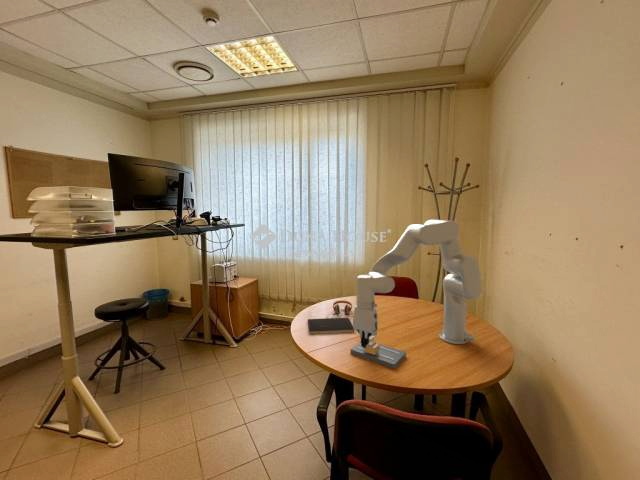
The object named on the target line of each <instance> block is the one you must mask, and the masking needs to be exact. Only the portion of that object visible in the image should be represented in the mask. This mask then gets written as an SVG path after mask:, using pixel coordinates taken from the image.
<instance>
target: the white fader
mask: <svg viewBox="0 0 640 480" xmlns="http://www.w3.org/2000/svg"><path fill="white" fill-rule="evenodd" d="M375 337H376V336H370V337H369V343H370V342H375V339H376V338H375Z"/></svg>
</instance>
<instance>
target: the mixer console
mask: <svg viewBox="0 0 640 480" xmlns="http://www.w3.org/2000/svg"><path fill="white" fill-rule="evenodd" d="M376 344H379V352H378V353H376V354H375V355H373V354H370V353H367V352H366V347H362V346H361V341H359V342H358V343H357V344H355V345H354V346H353V347H352V348H350V354H351V355H352V356H353V355H354V356H356V357H359V358H362V359H364V360H367V361H370V362H372V363H376V364H378V365H381V366H384V367H387V368H390V369H391V370H392V369H393V370H395V369H396V368H397V367H398V366H399V365H400V364H401V363H402V361H404V359H405V358H406V357H407V352H406V351H404V350H401V349H398V348H394V347H390V346H388V345H384V344H380V343H378V342H376Z"/></svg>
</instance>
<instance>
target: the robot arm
mask: <svg viewBox="0 0 640 480" xmlns="http://www.w3.org/2000/svg"><path fill="white" fill-rule="evenodd" d="M404 230H405V231H404V232H403V233H402V235H401V236H400V238H399V239H398V241H397V242H396V243H395V245H394V246H393V248H392V249H391V250H390V251H388V252H387V253H385V254H384V255H383V256H381V257H380V258H379V259H378V260H376V262H375V263H374V264H373V265H372V267H371V268H370V270H369V271H368V274H360V275H358V276H356V291H355V292H356V302H355V304H356V305H355V306H354V310H353V317H352V325H353V327H354V331H356V332H357V333H358V335H359V337H360V342H361V346H362V347H366V345H367V344H368V343H369V337H370V336H375V337H376V336H377V335H378V332H377V331H378V330H379V317H378V311H377V310H378V309H377V308H378V304H377V303H375V293H376V294H377V293H378V294H389V293H390V292H392V291H393V290H394V289H395V287H396V285H395V284H396V283H395V280H394V279H393V278H392V277H391V276H390V275H387V273H388V271H390V270H391V269H392V268H394V267H396V266H399V265H403V264H405V263H408V262H409V261H411V258H412V257H413V256H414V255H415V253H416V251H417V250H418V249H419V247H420V246H421V245H423V246H434V245H438V246H439V250H440V256H441V261H442V262H441V263H442V266H443V269H444V270H445V271H447V272H449V273H448V274H446V275H445V276H444V278H443V280H442V287H443V288H442V289H443V297H444V298H443V299H444V300H443V301H444V303H443V320H442V321H443V323H442V325H443V327H442V330H441V332H439V335H438V336H439V338H440V339H441V340H442V341H444V342H447V343H449V344H452V345H465V344H468V343H469V341H471V342H475V341H476V336H474V334H470V333H468V330H467V329H466V321H467V320H466V319H467V317H466V316H467V300H470V301H475V300H478V299H479V298H480V297H481V295H482V293H483V283H482V276H481V270H480V264H479V262H478V260H477V259H476V258H475V257H474V256H473V255H470V254H465V253H463V252H462V248H461V244H460V240H459V235H460V232H461V229H460V225H459V224H458V223H457V222H456V221H454V220H450V219H437V218H436V219H433V218H432V219H428V220H426V221H425V222H424V223H423V224H420V223H415V224H413V223H412V224H410V225H408V226H407V228H406V229H404Z"/></svg>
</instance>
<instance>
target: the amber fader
mask: <svg viewBox="0 0 640 480" xmlns="http://www.w3.org/2000/svg"><path fill="white" fill-rule="evenodd" d="M376 343H377V342H376V341H374V342H370V343H368V344H367V345H366V352H367V353H370V354H373V355H375V354H376V353H378V352H379V344H380V343H378V344H376Z"/></svg>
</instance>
